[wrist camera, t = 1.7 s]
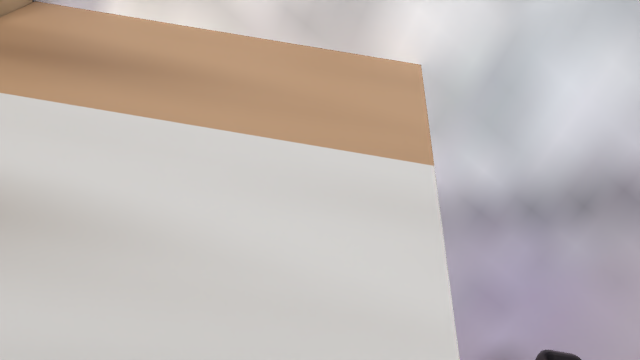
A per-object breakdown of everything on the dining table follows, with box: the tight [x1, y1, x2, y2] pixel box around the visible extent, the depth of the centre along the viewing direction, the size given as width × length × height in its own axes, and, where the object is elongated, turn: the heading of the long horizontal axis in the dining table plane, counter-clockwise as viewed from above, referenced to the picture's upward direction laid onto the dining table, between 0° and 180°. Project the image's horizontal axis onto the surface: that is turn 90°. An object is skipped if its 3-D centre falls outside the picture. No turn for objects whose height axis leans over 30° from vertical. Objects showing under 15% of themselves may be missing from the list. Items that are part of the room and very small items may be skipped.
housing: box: [0, 1, 460, 360], centre depth 7 cm, size 6×5×6 cm
